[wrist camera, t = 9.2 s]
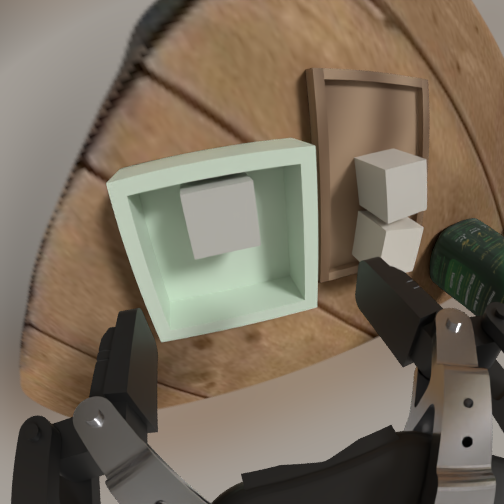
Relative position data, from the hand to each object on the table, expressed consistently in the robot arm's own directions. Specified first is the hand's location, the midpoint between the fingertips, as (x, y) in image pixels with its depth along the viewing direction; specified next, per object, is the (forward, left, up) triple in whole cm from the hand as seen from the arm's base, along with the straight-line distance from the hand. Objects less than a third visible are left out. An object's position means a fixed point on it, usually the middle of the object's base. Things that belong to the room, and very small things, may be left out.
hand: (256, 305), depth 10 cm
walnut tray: (-13, 0, -12) cm, 18 cm away
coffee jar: (-26, +10, -12) cm, 31 cm away
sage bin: (0, +2, -12) cm, 12 cm away
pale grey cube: (-13, 0, -11) cm, 17 cm away
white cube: (-13, +5, -11) cm, 18 cm away
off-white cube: (0, 0, -11) cm, 11 cm away
